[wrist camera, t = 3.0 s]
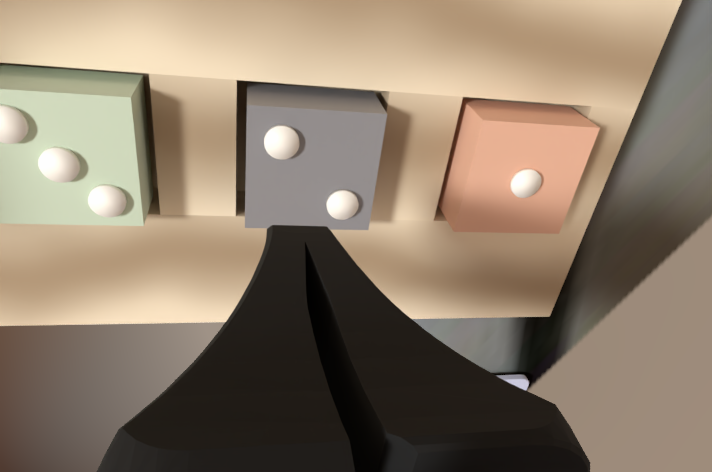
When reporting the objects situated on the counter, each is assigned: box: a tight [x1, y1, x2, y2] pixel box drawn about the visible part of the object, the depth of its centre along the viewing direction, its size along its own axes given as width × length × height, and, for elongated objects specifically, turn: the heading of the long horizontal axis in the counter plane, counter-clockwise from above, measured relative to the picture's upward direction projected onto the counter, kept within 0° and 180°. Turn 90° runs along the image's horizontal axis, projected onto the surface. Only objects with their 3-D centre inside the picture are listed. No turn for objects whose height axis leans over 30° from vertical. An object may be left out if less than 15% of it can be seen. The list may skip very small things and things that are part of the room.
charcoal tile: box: [245, 83, 387, 230], centre depth 17 cm, size 4×4×2 cm
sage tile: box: [0, 64, 153, 226], centre depth 15 cm, size 4×4×2 cm
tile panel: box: [0, 0, 682, 326], centre depth 18 cm, size 14×22×2 cm, turn 83°
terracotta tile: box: [438, 98, 600, 234], centre depth 18 cm, size 4×4×2 cm
